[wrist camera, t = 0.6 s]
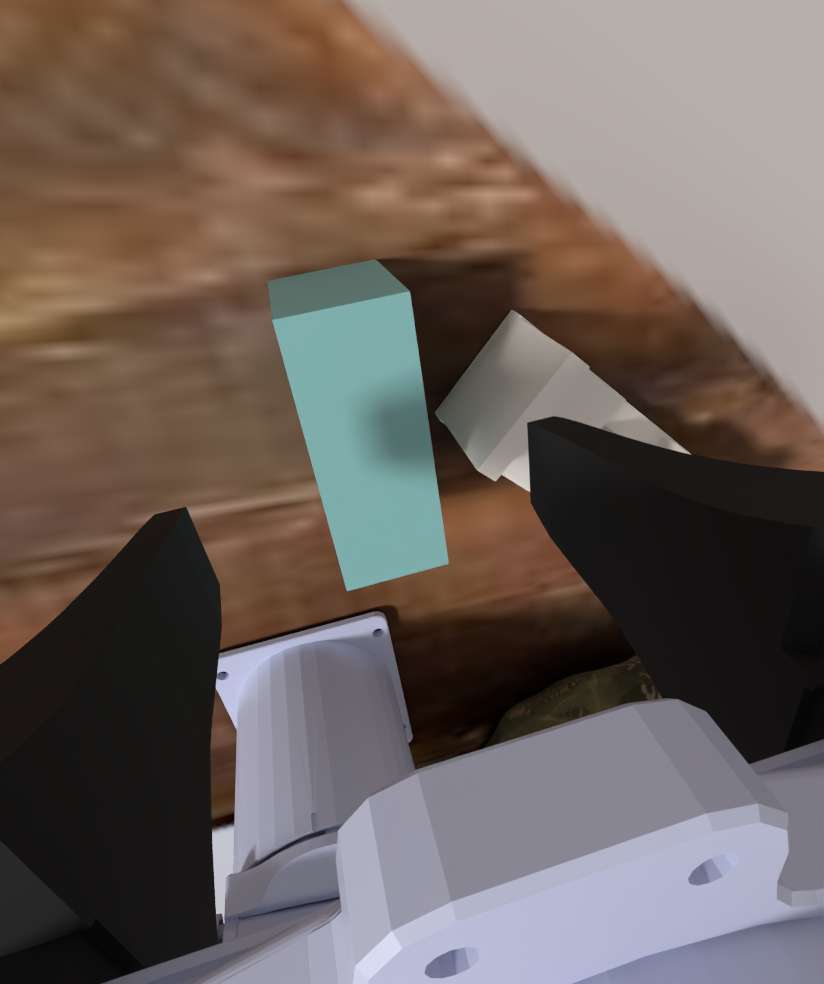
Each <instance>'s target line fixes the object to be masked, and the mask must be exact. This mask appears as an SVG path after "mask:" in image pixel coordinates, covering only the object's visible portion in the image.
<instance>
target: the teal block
mask: <svg viewBox="0 0 824 984" xmlns="http://www.w3.org/2000/svg"><path fill="white" fill-rule="evenodd" d="M268 287H269V296H270V304H271V313H272V321H273V324H274V328H275V332H276V335H277V339H278V342H279V346H280V350H281V353H282V357H283V361H284V364H285V368H286V371H287V375H288V379H289V382H290V386H291V390H292V393H293V397H294V401H295V404H296V408H297V411H298V415H299V419H300V422H301V426H302V430H303V433H304V437H305V440H306V444H307V448H308V451H309V455H310V459H311V462H312V466H313V470H314V473H315V477H316V480H317V484H318V488H319V491H320V495H321V499H322V502H323V506H324V509H325V513H326V517H327V520H328V524H329V528H330V531H331V535H332V538H333V542H334V546H335V549H336V553H337V557H338V560H339V564H340V568H341V571H342V575H343V578H344V582H345V586H346V589H347V591H350V590H353V589H357V588H361V587H364V586H368V585H372V584H375V583H379V582H383V581H387V580H390V579H394V578H398V577H401V576H405V575H409V574H412V573H416V572H420V571H423V570H427V569H431V568H435V567H438V566H442V565H446V564H449V563H448V556H447V548H446V541H445V534H444V527H443V520H442V513H441V506H440V499H439V492H438V485H437V478H436V471H435V464H434V457H433V450H432V443H431V436H430V429H429V422H428V415H427V408H426V401H425V394H424V386H423V379H422V372H421V365H420V358H419V351H418V344H417V337H416V330H415V323H414V316H413V309H412V302H411V295H410V291H409V290H408V289H407V288H406V287H405V286H404V285H403V284H402V283H401V282H399V281H398V280H397V279H396V278H395V277H394V276H393V275H392V274H391V273H390V272H389V271H388V270H387V269H386V268H384V267H383V266H382V265H381V264H380V263H379V262H378V261H377V260H376V259H374V260H369V261H364V262H359V263H354V264H349V265H344V266H339V267H334V268H329V269H324V270H319V271H314V272H309V273H304V274H299V275H294V276H289V277H284V278H279V279H275V280H270V281H268Z"/></svg>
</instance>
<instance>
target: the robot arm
mask: <svg viewBox="0 0 824 984" xmlns="http://www.w3.org/2000/svg"><path fill="white" fill-rule="evenodd" d="M527 431H528V453H529V475H530V497H531V504H532V506H533V507H534V509H535V511H536V513H537V515H538V517H539V518H540V520H541V522H542V524H543V525H544V527H545V529H546V531H547V532H548V534H549V536H550V537H551V539H552V540H553V541H554V543H555V544H556V545H557V546H558V548H559V549H560V550H561V552H562V553H563V554H564V555H565V557H566V558H567V559H568V561H569V562H570V563H571V564H572V566H573V567H574V568H575V570H576V571H577V572H578V573H579V575H580V576H581V577H582V578H583V580H584V581H585V582H586V583H587V585H588V586H589V587H590V588H591V590H592V591H593V592H594V593H595V595H596V596H597V597H598V599H599V600H600V601H601V602H602V604H603V605H604V606H605V607H606V609H607V610H608V611H609V613H610V614H611V616H612V617H613V618H614V620H615V621H616V623H617V624H618V625H619V627H620V629H621V630H622V632H623V633H624V635H625V637H626V638H627V640H628V642H629V643H630V645H631V646H632V648H633V650H634V651H635V653H636V654H637V656H638V658H639V659H640V661H641V663H642V664H643V666H644V668H645V669H646V671H647V673H648V675H649V676H650V678H651V680H652V681H653V683H654V685H655V687H656V688H657V690H658V692H659V693H660V695H661V697H662V699H657V700H649V701H642V702H634V703H627V704H623V705H620V706H617V707H614V708H611V709H608V710H604V711H601V712H598V713H595V714H592V715H588V716H585V717H582V718H579V719H576V720H573V721H569V722H566V723H563V724H560V725H557V726H554V727H550V728H547V729H544V730H541V731H538V732H535V733H531V734H528V735H525V736H522V737H519V738H516V739H512V740H509V741H506V742H503V743H500V744H497V745H493V746H490V747H487V748H484V749H481V750H478V751H474V752H471V753H468V754H465V755H462V756H459V757H455V758H452V759H449V760H446V761H443V762H440V763H436V764H433V765H430V766H427V767H424V768H420V769H417V770H415V768H414V764H413V760H412V756H411V752H410V748H409V744H408V743H409V742H410V741H411V740H412V738H413V735H412V730H411V726H410V721H409V717H408V712H407V708H406V704H405V699H404V695H403V690H402V686H401V681H400V677H399V672H398V668H397V664H396V659H395V655H394V650H393V646H392V641H391V637H390V632H389V628H388V624H387V620H386V616H385V615H384V614H383V613H382V612H378V611H376V612H371V613H367V614H363V615H360V616H356V617H352V618H348V619H345V620H341V621H337V622H334V623H330V624H326V625H323V626H319V627H315V628H312V629H308V630H304V631H300V632H297V633H293V634H289V635H286V636H282V637H278V638H275V639H271V640H267V641H264V642H260V643H256V644H252V645H249V646H245V647H241V648H238V649H234V650H230V651H227V652H223V653H219V650H220V640H221V628H222V621H221V598H220V584H219V582H218V580H217V577H216V575H215V573H214V570H213V568H212V566H211V563H210V561H209V559H208V556H207V554H206V552H205V550H204V547H203V545H202V543H201V540H200V538H199V536H198V533H197V531H196V529H195V526H194V524H193V522H192V520H191V517H190V515H189V513H188V510H187V508H186V507H183V508H179V509H175V510H171V511H167V512H163V513H159V514H155V515H154V516H153V517H152V518H151V519H149V520H148V521H147V522H146V523H145V525H144V526H143V527H142V528H141V529H140V530H139V531H138V532H137V533H136V534H135V535H134V537H133V538H132V539H131V540H130V541H129V542H128V543H127V544H126V546H125V547H124V548H123V549H122V550H121V551H120V552H119V553H118V554H117V556H116V557H115V558H114V559H113V560H112V561H111V562H110V563H109V564H108V565H107V567H106V568H105V569H104V570H103V571H102V572H101V573H100V574H99V575H98V576H97V577H96V578H95V579H94V580H93V581H92V582H91V584H90V585H89V586H88V587H87V588H86V589H85V590H84V591H83V592H82V593H81V594H80V595H79V596H78V597H77V598H76V599H75V600H74V601H73V602H72V603H71V604H70V605H69V606H68V607H67V608H66V609H65V610H64V611H63V612H62V613H61V614H60V615H58V616H57V617H56V618H55V619H54V620H53V621H52V622H51V623H50V624H49V625H48V626H46V627H45V628H44V629H43V630H42V631H41V632H40V633H38V634H37V635H36V636H35V637H34V638H33V639H31V640H30V641H29V642H28V643H27V644H25V645H24V646H23V647H22V648H21V649H19V650H18V651H17V652H16V653H15V654H13V655H12V656H11V657H10V658H8V659H7V660H6V661H5V662H3V663H2V664H0V984H824V472H818V471H803V470H791V469H782V468H772V467H763V466H754V465H747V464H740V463H734V462H728V461H722V460H717V459H711V458H706V457H700V456H696V455H691V454H687V453H682V452H678V451H675V450H671V449H667V448H663V447H659V446H655V445H652V444H648V443H645V442H641V441H638V440H634V439H631V438H628V437H624V436H621V435H618V434H615V433H612V432H609V431H605V430H602V429H599V428H596V427H593V426H590V425H587V424H583V423H580V422H577V421H573V420H570V419H566V418H562V417H557V416H552V417H548V418H544V419H540V420H536V421H532V422H528V423H527ZM376 629H381V630H379V631H374V630H376ZM219 672H226V673H219ZM215 688H216V689H217V691H218V693H219V695H220V697H221V699H222V701H223V703H224V705H225V707H226V709H227V711H228V713H229V715H230V717H231V719H232V721H233V723H234V725H235V727H236V729H237V750H236V787H235V824H234V861H233V862H234V864H233V874H231V875H228V876H227V878H226V895H225V924H224V923H223V918H222V914H216V908H215V889H214V872H213V871H214V870H213V853H212V852H213V851H212V820H211V769H210V743H211V726H212V716H213V706H214V697H215Z"/></svg>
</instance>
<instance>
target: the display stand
mask: <svg viewBox="0 0 824 984" xmlns="http://www.w3.org/2000/svg"><path fill="white" fill-rule="evenodd" d="M589 368H590V367H589V366H588V365H587V364H586V363H585V362H583V361H582V360H581V359H580V358H578V357H577V356H576V355H575V354H574V353H572V352H571V351H569V350H568V349H566V348H565V347H563V346H562V345H560V344H559V343H557V342H556V341H554V340H552V339H551V338H549V337H548V336H546V335H545V334H543V333H542V332H541V331H540V330H538V329H537V328H536V327H535V326H533V325H532V324H531V323H530V322H529V321H527V320H526V319H525V318H524V317H522V316H521V315H520V314H518V313H517V312H515V311H514V310H511V311H510V312H509V314H508V315H507V316H506V318H505V319H504V320H503V322H502V323H501V324H500V326H499V327H498V328H497V330H496V331H495V332H494V334H493V335H492V336H491V338H490V339H489V340H488V342H487V343H486V344H485V346H484V347H483V348H482V350H481V351H480V352H479V354H478V355H477V356H476V358H475V359H474V361H473V362H472V363H471V365H470V366H469V367H468V369H467V370H466V371H465V373H464V374H463V375H462V377H461V378H460V379H459V381H458V382H457V383H456V385H455V386H454V387H453V389H452V390H451V391H450V393H449V394H448V395H447V397H446V398H445V399H444V401H443V402H442V403H441V405H440V406H439V407H438V409H437V410H436V411H435V414H436V416H437V417H438V419H439V420H440V421H441V422H442V423H444V424H445V425H446V426H447V427H448V429H449V430H450V432H451V433H452V435H453V436H454V438H455V439H456V440H457V442H458V443H459V445H460V446H461V448H462V449H463V451H464V452H465V454H466V455H467V456H468V458H469V459H470V461H471V462H472V464H473V465H474V467H475V468H476V470H477V471H479V472H480V473H482V474H484V475H485V476H487V477H489V478H490V479H492V480H494V481H495V482H496V481H497V479H498V478H499V477H500V476H501V475H503V476H504V477H506V478H508V479H509V480H511V481H513V482H514V483H516V484H517V485H519V486H521V487H522V488H524V489H526V490H527V491H529V492H530V475H529V453H528V431H527V423H528V422H532V421H536V420H540V419H544V418H548V417H552V416H557V417H562V418H566V419H570V420H573V421H577V422H580V423H583V424H587V425H590V426H593V427H596V428H599V429H602V430H605V431H609V432H612V433H615V434H618V435H621V436H624V437H628V438H631V439H634V440H638V441H641V442H645V443H648V444H652V445H655V446H659V447H663V448H667V449H671V450H675V451H678V452H682V453H687V454H690V453H689V452H688V451H687V450H686V449H684V448H683V447H682V446H681V445H679V444H678V443H677V442H676V441H674V440H673V439H672V438H671V437H670V436H668V435H667V434H666V433H665V432H663V431H662V430H661V429H660V428H659V427H657V426H656V425H655V424H654V423H652V422H651V421H650V420H649V419H648V418H646V417H645V416H644V415H643V414H641V413H640V412H639V411H638V410H636V409H635V408H634V407H633V406H632V405H630V404H629V403H628V402H627V401H625V400H626V399H625V398H623V397H622V396H621V395H620V394H619V393H617V392H616V391H615V390H614V389H612V388H611V387H610V386H609V385H608V384H606V383H605V382H604V381H603V380H601V379H600V378H599V377H598V376H597V375H595V374H594V373H593V372H592V371H590V370H589ZM691 455H692V454H691Z"/></svg>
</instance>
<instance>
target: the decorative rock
mask: <svg viewBox="0 0 824 984" xmlns="http://www.w3.org/2000/svg"><path fill="white" fill-rule="evenodd" d="M657 699H662V697H661V695H660V693H659V692H658V690H657V688H656V687H655V685H654V683H653V681H652V680H651V678H650V676H649V675H648V673H647V671H646V669H645V668H644V666H643V664H642V663H641V661H640V659H639V658H638V656H637V654H636V655H635V656H633V657H632V658H630V659H628V660H626V661H624V662H622V663H620V664H616V665H613V666H609V667H606V668H602V669H599V670H595V671H588V672H583V673H579V674H574V675H572V676H569V677H567V678H564V679H562V680H559V681H557V682H555V683H554V684H552V685H550V686H549V687H547V688H546V689H544V690H543V691H541V692H540V693H538V694H536V695H534V696H532V697H529V698H527V699H525V700H523V701H521V702H520V703H518V704H516V705H515V706H513V707H512V708H511V709H510V710H508V711H507V712H506V713H505V715H504V716H503V718H502V719H501V721H500V724H499V725H498V727H497V729H496V730H495V732H494V733H493V735H492V737H491V738H490V740H489V741H488V743H487V744H486V745H485V747H484V748H487V747H490V746H493V745H497V744H500V743H503V742H506V741H509V740H512V739H516V738H519V737H522V736H525V735H528V734H531V733H535V732H538V731H541V730H544V729H547V728H550V727H554V726H557V725H560V724H563V723H566V722H569V721H573V720H576V719H579V718H582V717H585V716H588V715H592V714H595V713H598V712H601V711H604V710H608V709H611V708H614V707H617V706H620V705H623V704H627V703H634V702H642V701H649V700H657ZM484 748H483V749H484Z"/></svg>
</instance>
